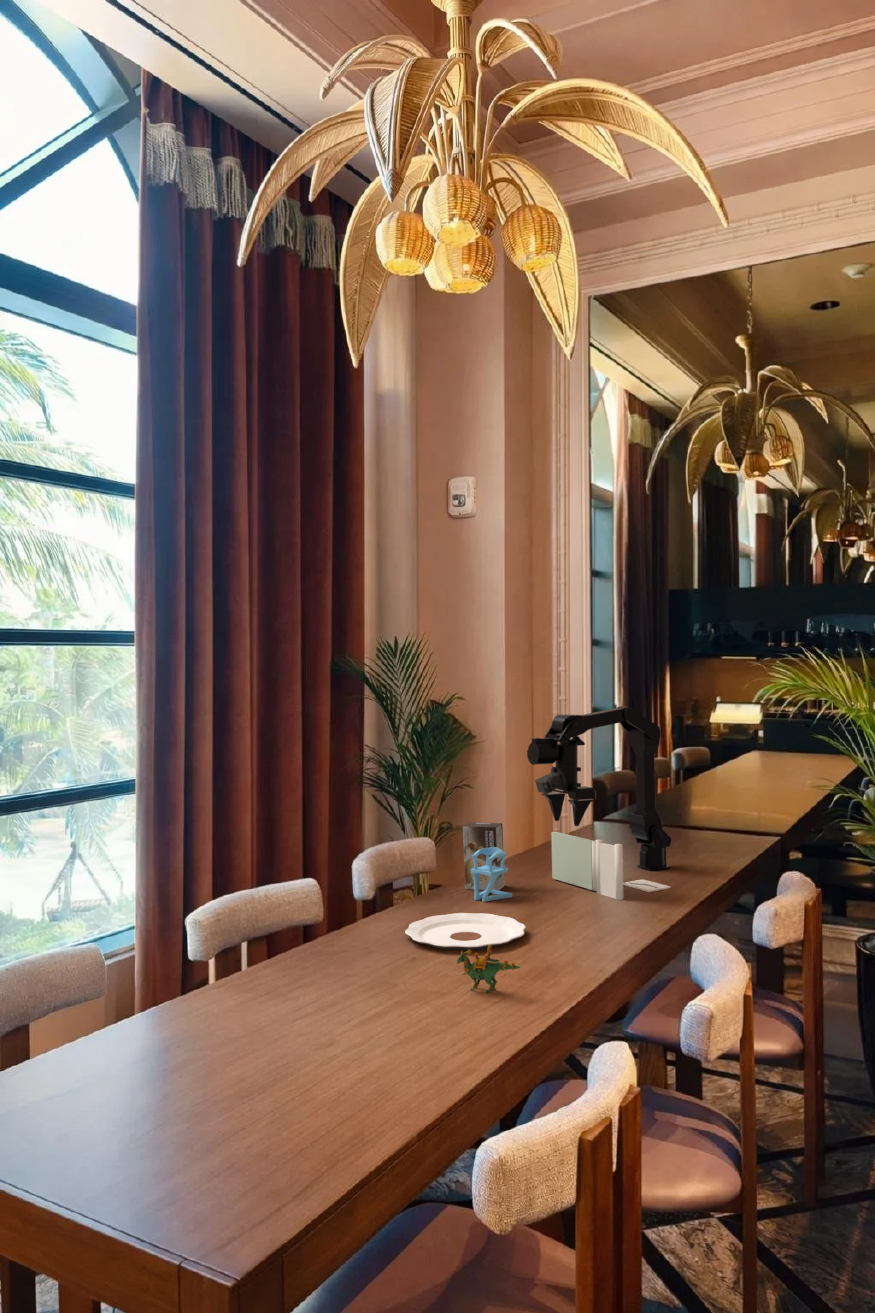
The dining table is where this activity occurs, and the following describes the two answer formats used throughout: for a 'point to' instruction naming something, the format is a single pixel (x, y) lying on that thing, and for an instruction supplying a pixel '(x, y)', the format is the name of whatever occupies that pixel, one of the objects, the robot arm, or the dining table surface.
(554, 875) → the panel
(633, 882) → the card
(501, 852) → the chair
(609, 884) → the fence fixed section
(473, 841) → the coffee box
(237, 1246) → the dining table surface
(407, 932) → the plate
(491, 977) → the figurine
